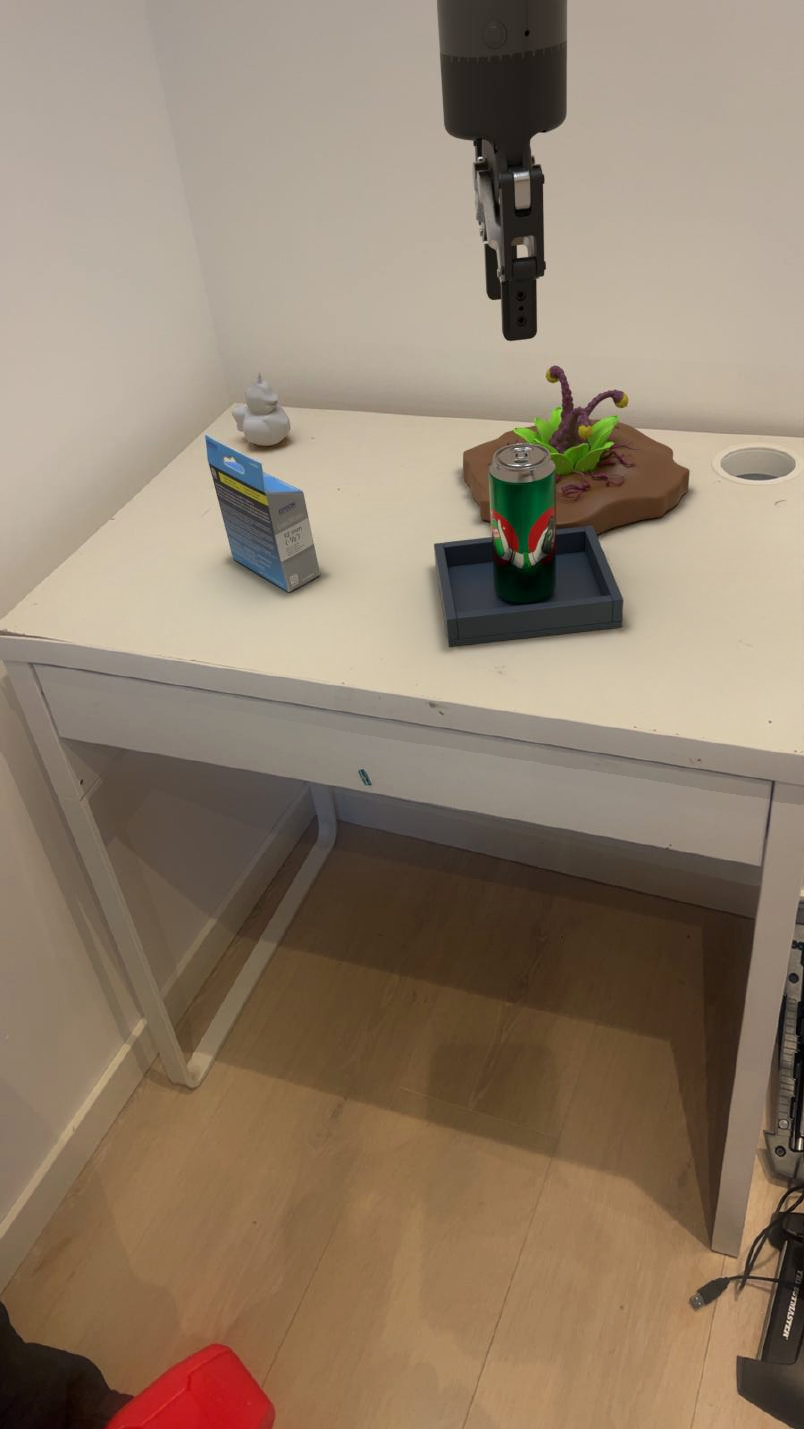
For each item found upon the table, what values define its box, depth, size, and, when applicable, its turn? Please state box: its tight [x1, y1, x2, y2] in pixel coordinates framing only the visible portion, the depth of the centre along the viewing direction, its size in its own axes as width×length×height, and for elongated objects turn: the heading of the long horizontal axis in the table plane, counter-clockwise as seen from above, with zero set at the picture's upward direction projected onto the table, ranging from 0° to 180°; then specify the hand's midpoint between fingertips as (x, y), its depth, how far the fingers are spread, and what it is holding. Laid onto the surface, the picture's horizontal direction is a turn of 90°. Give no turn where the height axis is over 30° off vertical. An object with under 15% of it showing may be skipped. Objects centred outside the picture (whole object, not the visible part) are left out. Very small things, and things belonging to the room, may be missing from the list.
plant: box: [462, 364, 690, 536], centre depth 96 cm, size 20×20×11 cm
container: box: [433, 526, 624, 647], centre depth 85 cm, size 14×12×3 cm
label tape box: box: [204, 432, 321, 593], centre depth 89 cm, size 9×4×12 cm, turn 41°
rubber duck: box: [231, 371, 291, 447], centre depth 111 cm, size 5×7×8 cm
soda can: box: [488, 443, 556, 605], centre depth 81 cm, size 5×5×12 cm
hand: (510, 316), depth 71 cm, fingers open, 8 cm apart
